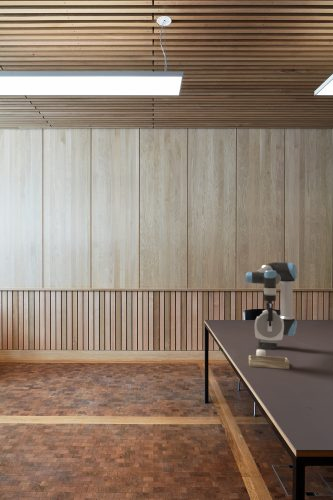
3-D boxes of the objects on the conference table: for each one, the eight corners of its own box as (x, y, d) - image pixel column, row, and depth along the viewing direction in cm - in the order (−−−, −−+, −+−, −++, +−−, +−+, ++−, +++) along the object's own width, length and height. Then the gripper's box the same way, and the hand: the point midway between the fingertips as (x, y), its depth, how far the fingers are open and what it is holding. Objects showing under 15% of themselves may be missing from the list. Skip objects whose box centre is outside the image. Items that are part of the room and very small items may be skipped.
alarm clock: (283, 341, 273) (284, 310, 273) (283, 344, 265) (284, 311, 265) (254, 339, 278) (255, 308, 278) (253, 342, 270) (254, 309, 270)
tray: (248, 361, 280) (248, 355, 280) (286, 363, 276) (286, 357, 276) (249, 366, 267) (249, 360, 267) (289, 368, 263) (289, 362, 263)
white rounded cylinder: (255, 359, 285) (256, 349, 286) (265, 360, 285) (265, 349, 285) (256, 361, 280) (256, 351, 280) (265, 362, 279) (266, 351, 279)
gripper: (262, 292, 283) (261, 327, 283) (265, 295, 262) (264, 332, 262) (274, 293, 282) (273, 327, 282) (277, 296, 261) (276, 333, 260)
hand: (269, 330), depth 272 cm, fingers closed on alarm clock, 9 cm apart
